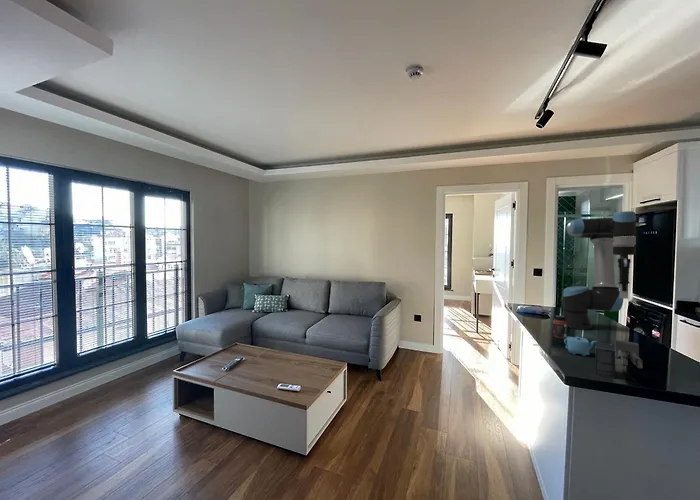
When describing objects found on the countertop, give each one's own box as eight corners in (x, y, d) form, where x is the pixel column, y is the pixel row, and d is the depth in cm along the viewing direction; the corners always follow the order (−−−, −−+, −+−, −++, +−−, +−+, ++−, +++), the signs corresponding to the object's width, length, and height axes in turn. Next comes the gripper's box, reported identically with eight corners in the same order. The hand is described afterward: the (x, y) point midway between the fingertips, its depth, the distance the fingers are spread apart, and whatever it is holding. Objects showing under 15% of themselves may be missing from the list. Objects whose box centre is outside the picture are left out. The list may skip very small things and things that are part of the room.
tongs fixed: (619, 354, 132) (619, 346, 132) (627, 355, 130) (627, 348, 130) (622, 365, 120) (622, 357, 120) (632, 366, 118) (632, 358, 118)
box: (595, 367, 118) (595, 341, 118) (614, 371, 115) (614, 344, 114) (595, 374, 112) (595, 346, 112) (615, 378, 109) (615, 350, 108)
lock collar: (614, 355, 130) (614, 339, 130) (637, 359, 125) (637, 343, 125) (615, 357, 127) (615, 341, 127) (638, 361, 123) (638, 345, 123)
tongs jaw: (628, 358, 127) (628, 350, 127) (633, 358, 126) (633, 351, 126) (637, 367, 117) (637, 359, 117) (642, 368, 116) (642, 360, 116)
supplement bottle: (569, 339, 152) (569, 317, 152) (556, 339, 153) (556, 317, 153) (563, 336, 158) (563, 314, 158) (551, 335, 159) (551, 314, 159)
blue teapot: (596, 353, 133) (596, 337, 132) (599, 358, 127) (599, 341, 127) (563, 349, 139) (563, 333, 138) (565, 353, 133) (564, 337, 133)
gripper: (611, 245, 141) (611, 295, 141) (614, 246, 131) (614, 299, 131) (633, 245, 136) (633, 296, 137) (637, 246, 126) (637, 301, 127)
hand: (623, 298), depth 134 cm, fingers closed
